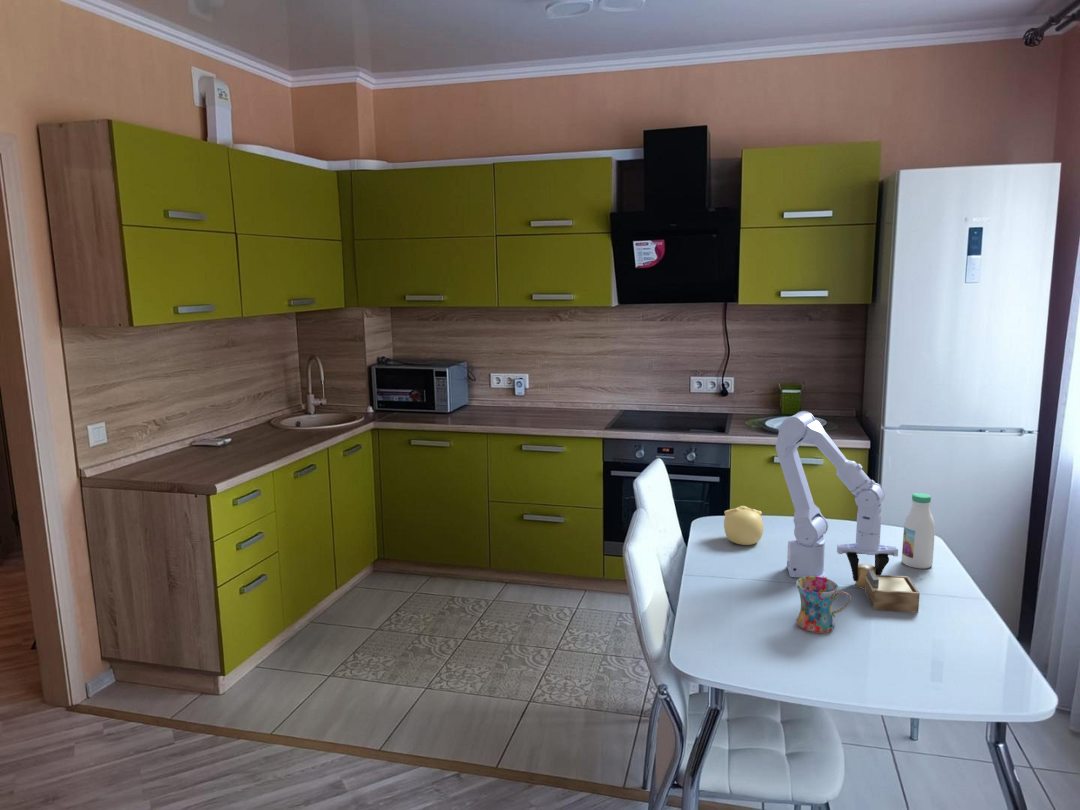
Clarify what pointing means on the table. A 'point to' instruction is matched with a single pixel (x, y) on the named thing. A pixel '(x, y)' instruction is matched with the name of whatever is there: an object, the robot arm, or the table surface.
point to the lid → (886, 583)
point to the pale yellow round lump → (743, 525)
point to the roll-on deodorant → (863, 574)
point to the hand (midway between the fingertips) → (865, 580)
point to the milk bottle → (919, 533)
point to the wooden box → (894, 597)
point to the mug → (817, 603)
